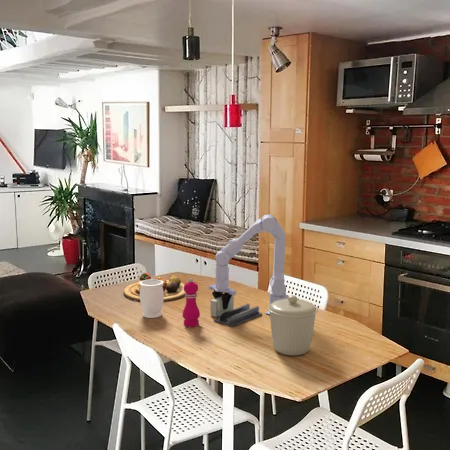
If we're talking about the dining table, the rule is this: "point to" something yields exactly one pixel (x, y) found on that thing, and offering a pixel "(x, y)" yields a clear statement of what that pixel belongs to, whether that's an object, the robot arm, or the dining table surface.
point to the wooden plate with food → (170, 287)
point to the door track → (238, 315)
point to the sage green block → (220, 306)
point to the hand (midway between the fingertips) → (222, 308)
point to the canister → (292, 325)
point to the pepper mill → (191, 304)
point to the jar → (151, 297)
